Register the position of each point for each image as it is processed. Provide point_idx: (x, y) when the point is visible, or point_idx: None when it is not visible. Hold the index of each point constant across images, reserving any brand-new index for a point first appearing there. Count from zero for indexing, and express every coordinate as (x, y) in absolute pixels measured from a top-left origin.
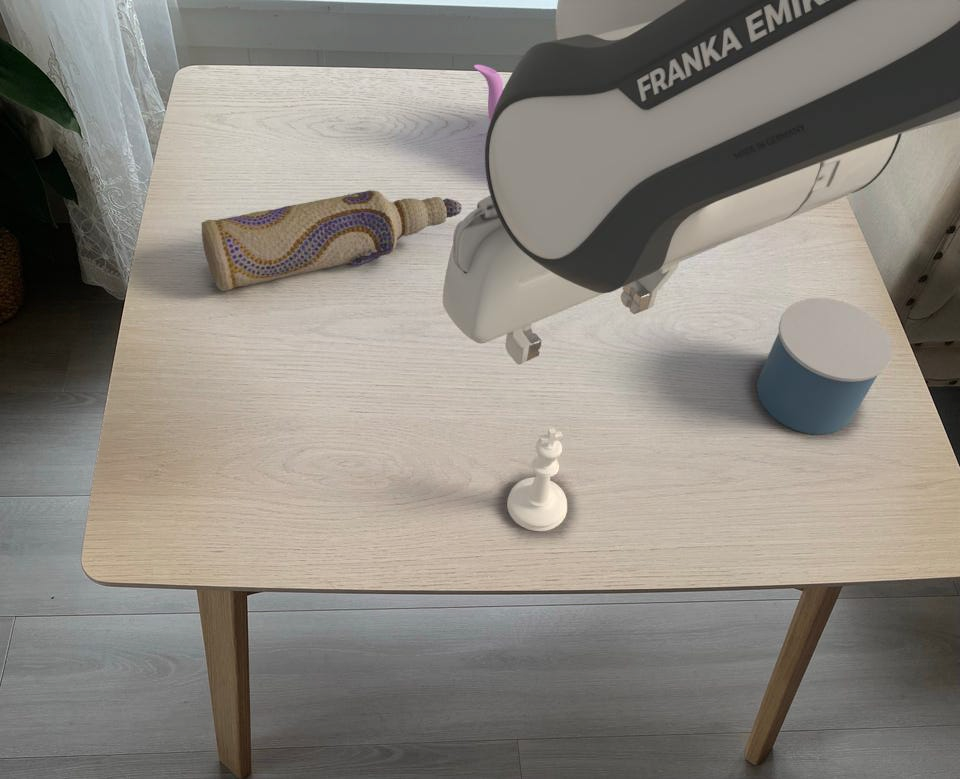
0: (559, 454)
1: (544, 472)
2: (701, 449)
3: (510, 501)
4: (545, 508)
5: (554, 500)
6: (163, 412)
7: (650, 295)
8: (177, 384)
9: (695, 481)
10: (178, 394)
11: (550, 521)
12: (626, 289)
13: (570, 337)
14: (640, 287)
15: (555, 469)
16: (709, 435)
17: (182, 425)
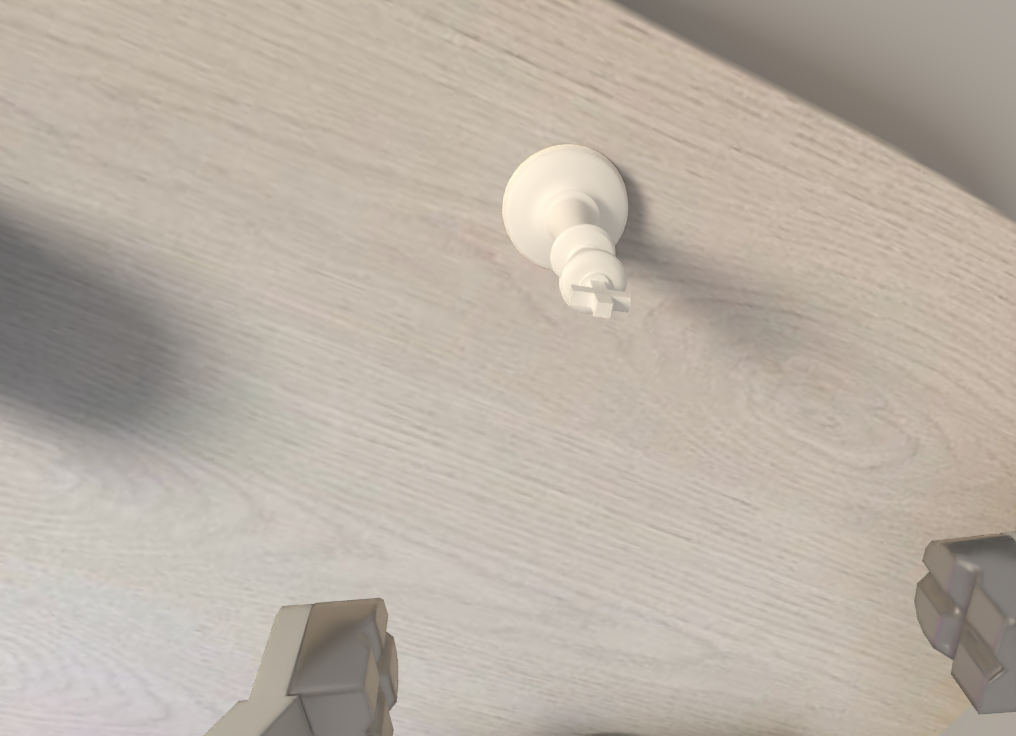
0: (582, 253)
1: (600, 238)
2: (146, 193)
3: (620, 234)
4: (569, 186)
5: (541, 197)
6: None
7: (296, 682)
8: None
9: (198, 122)
10: None
11: (571, 156)
12: (386, 728)
13: (304, 523)
14: (327, 732)
15: (572, 235)
16: (111, 219)
17: None
